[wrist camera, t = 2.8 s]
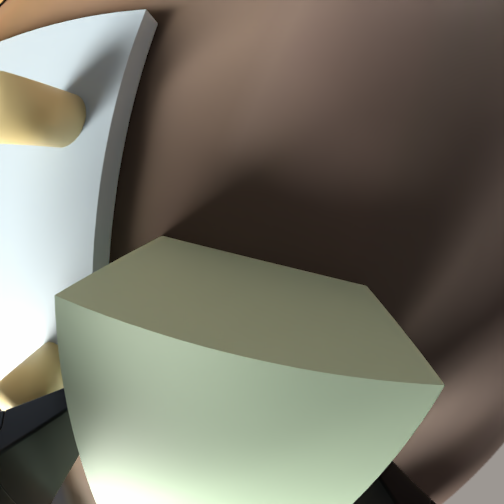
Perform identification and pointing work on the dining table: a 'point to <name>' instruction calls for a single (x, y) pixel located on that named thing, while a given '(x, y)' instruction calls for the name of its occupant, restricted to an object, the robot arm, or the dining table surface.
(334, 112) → the dining table surface
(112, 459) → the pale green block
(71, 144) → the chassis
